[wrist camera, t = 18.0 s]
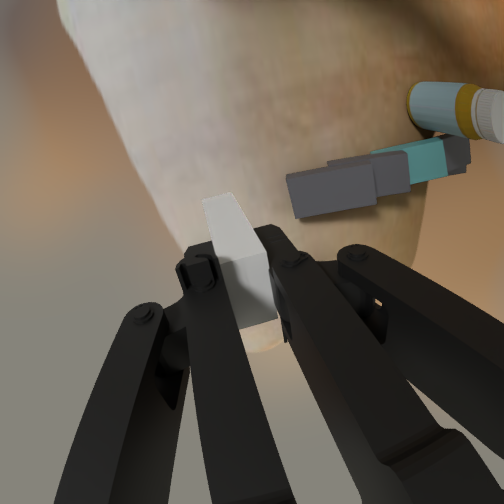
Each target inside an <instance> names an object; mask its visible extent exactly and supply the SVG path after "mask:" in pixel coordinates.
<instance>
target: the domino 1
mask: <svg viewBox="0 0 504 504" xmlns="http://www.w3.org/2000/svg"><path fill="white" fill-rule="evenodd" d="M286 182H287V186H288V190H289V194H290V198H291V202H292V207H293V211H294V215H295V219H298V218H303V217H309V216H314V215H319V214H325V213H330V212H336V211H341V210H347V209H353V208H358V207H364V206H370V205H375V204H377V199H376V191H375V183H374V176H373V169H372V164H371V162H370V161H369V160H362V161H356V162H350V163H345V164H339V165H334V166H328V167H323V168H317V169H312V170H307V171H302V172H297V173H292V174H287V175H286Z"/></svg>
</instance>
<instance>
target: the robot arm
mask: <svg viewBox="0 0 504 504" xmlns="http://www.w3.org/2000/svg"><path fill="white" fill-rule="evenodd" d="M201 200H202V204H203V208H204V212H205V216H206V219H207V223H208V227H209V231H210V235H211V239H212V241H208V242H205V243H201V244H197V245H193V246H190V247H188V249H187V250H186V252H185V253H184V259H182V260H181V261H180V262H179V263H178V264H177V265H176V268H175V270H176V273H177V276H178V278H179V281H180V284H181V287H182V290H183V294H184V295H183V297H182V298H181V299H180V300H179V301H178V302H176V303H174V304H173V305H171V306H169V307H167V308H165V309H163V308H162V306H161V305H160V304H158V303H155V302H148V303H143V304H140V305H138V306H136V307H134V308H133V309H131V310H130V311H129V312H128V313H127V314H126V316H125V317H124V319H123V321H122V323H121V326H120V328H119V330H118V332H117V334H116V337H115V339H114V341H113V343H112V345H111V348H110V350H109V352H108V355H107V357H106V359H105V361H104V364H103V366H102V368H101V371H100V373H99V376H98V378H97V380H96V383H95V385H94V388H93V390H92V393H91V396H90V398H89V400H88V403H87V405H86V408H85V411H84V413H83V416H82V419H81V421H80V424H79V427H78V429H77V432H76V435H75V438H74V441H73V444H72V446H71V449H70V453H69V455H68V458H67V461H66V464H65V467H64V471H63V474H62V477H61V480H60V483H59V487H58V490H57V494H56V497H55V501H54V504H168V499H169V492H170V485H171V478H172V472H173V466H174V460H175V453H176V447H177V441H178V435H179V429H180V423H181V418H182V412H183V406H184V401H185V395H186V390H187V384H188V379H189V374H190V368H191V376H192V384H193V392H194V400H195V406H196V414H197V420H198V427H199V433H200V440H201V446H202V452H203V458H204V463H205V469H206V474H207V480H208V485H209V490H210V495H211V500H212V504H297V503H296V501H295V498H294V495H293V493H292V490H291V487H290V485H289V482H288V479H287V476H286V473H285V470H284V467H283V465H282V462H281V459H280V456H279V453H278V450H277V447H276V444H275V441H274V438H273V435H272V432H271V430H270V426H269V423H268V421H267V418H266V414H265V411H264V408H263V405H262V402H261V399H260V396H259V393H258V390H257V387H256V384H255V381H254V377H253V374H252V371H251V368H250V365H249V361H248V358H247V355H246V352H245V348H244V345H243V342H242V339H241V335H240V332H239V329H243V328H247V327H250V326H254V325H257V324H261V323H264V322H267V321H271V320H274V319H277V318H278V315H277V311H278V313H279V315H280V318H281V324H282V331H283V337H284V342H285V343H286V342H287V339H288V342H289V344H290V346H291V348H292V350H293V352H294V355H295V356H296V359H297V361H298V363H299V365H300V367H301V369H302V372H303V374H304V376H305V378H306V380H307V382H308V385H309V387H310V389H311V391H312V393H313V395H314V398H315V400H316V401H317V404H318V406H319V408H320V410H321V412H322V415H323V417H324V419H325V421H326V423H327V425H328V428H329V430H330V432H331V434H332V436H333V438H334V440H335V442H336V445H337V447H338V449H339V451H340V453H341V455H342V457H343V459H344V461H345V464H346V466H347V468H348V470H349V472H350V474H351V476H352V479H353V481H354V483H355V485H356V487H357V489H358V491H359V494H360V496H361V499H362V504H504V490H503V489H501V487H500V486H499V484H498V483H497V481H496V480H495V478H494V477H493V475H492V474H491V472H490V470H489V469H488V467H487V466H486V465H485V463H484V461H483V460H482V458H481V457H480V455H479V454H478V453H477V451H476V450H475V448H474V447H473V445H472V444H471V442H470V441H469V440H468V439H467V438H466V436H464V434H463V433H462V432H460V431H458V430H456V429H444V428H443V427H441V426H440V425H439V424H438V423H437V422H436V420H435V419H434V417H433V416H432V415H431V413H430V412H429V410H428V409H427V407H426V406H425V405H424V403H423V402H422V400H421V399H420V398H419V396H418V395H417V393H416V392H415V391H414V389H413V388H412V386H411V385H410V384H409V382H410V383H412V384H413V385H414V386H415V387H416V388H418V389H419V390H420V391H421V392H422V393H424V394H425V395H426V396H427V397H428V398H430V399H431V400H432V401H433V402H434V403H436V404H437V405H438V406H439V407H440V408H441V409H443V410H444V411H445V412H446V413H448V414H449V415H450V416H451V417H452V418H453V419H455V420H456V421H457V422H458V423H459V424H461V425H462V426H463V427H464V428H465V429H467V430H468V431H469V432H470V433H471V434H473V435H474V436H475V437H476V438H477V439H479V440H480V441H481V442H482V443H483V444H484V445H486V446H487V447H488V448H489V449H490V450H492V451H493V452H494V453H495V454H497V455H498V456H499V457H501V458H502V459H504V324H503V323H502V322H500V321H499V320H497V319H495V318H494V317H492V316H491V315H489V314H488V313H486V312H484V311H483V310H481V309H479V308H478V307H476V306H475V305H473V304H471V303H469V302H468V301H466V300H464V299H463V298H461V297H460V296H458V295H456V294H454V293H453V292H451V291H449V290H448V289H446V288H444V287H443V286H441V285H439V284H437V283H436V282H434V281H432V280H430V279H428V278H427V277H425V276H423V275H421V274H419V273H418V272H416V271H414V270H413V269H411V268H409V267H407V266H405V265H403V264H402V263H400V262H398V261H396V260H394V259H392V258H391V257H389V256H387V255H385V254H383V253H381V252H379V251H378V250H376V249H374V248H372V247H369V246H366V245H360V244H355V245H354V244H353V245H349V246H346V247H343V248H342V249H340V250H339V252H338V253H337V260H334V261H315V260H314V259H313V258H312V256H311V255H309V254H308V253H306V252H303V251H298V250H297V249H296V248H295V246H294V245H293V244H292V243H291V241H290V240H289V239H288V238H287V236H286V235H285V234H284V232H283V231H282V230H281V229H280V227H277V226H275V225H272V224H269V225H265V226H262V227H258V228H254V229H253V228H252V226H251V224H250V223H249V221H248V219H247V218H246V216H245V214H244V213H243V211H242V209H241V208H240V206H239V204H238V202H237V201H236V199H235V197H234V196H233V194H232V192H228V193H224V194H220V195H217V196H213V197H209V198H205V199H201ZM375 299H377V300H379V301H380V302H381V303H382V306H380V305H378V304H377V303H375ZM406 379H407V380H408V381H409V382H408V381H407V380H406Z"/></svg>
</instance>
